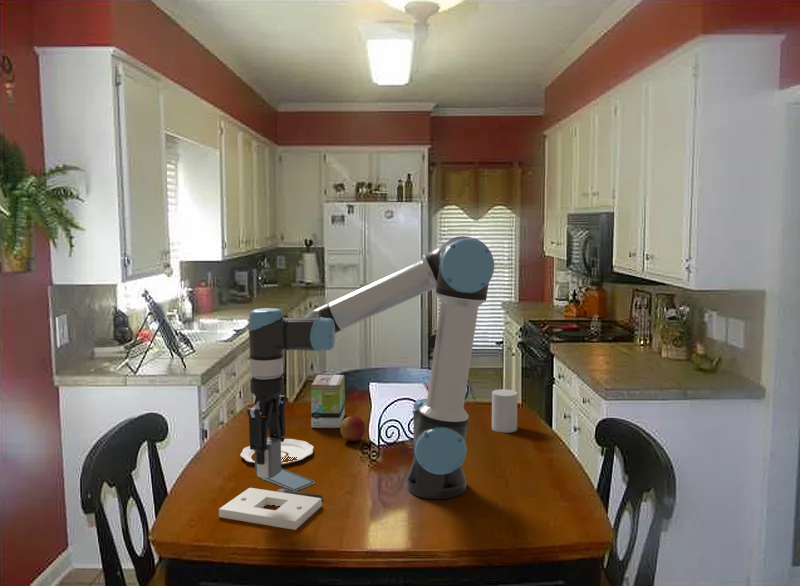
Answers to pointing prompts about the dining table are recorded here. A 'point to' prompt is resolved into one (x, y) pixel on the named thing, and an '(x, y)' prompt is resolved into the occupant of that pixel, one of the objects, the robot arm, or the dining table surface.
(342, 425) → the apple
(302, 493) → the cable
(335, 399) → the tea box
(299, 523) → the outlet plate
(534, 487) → the dining table surface
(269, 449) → the block
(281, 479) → the smartphone
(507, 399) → the white cylinder
